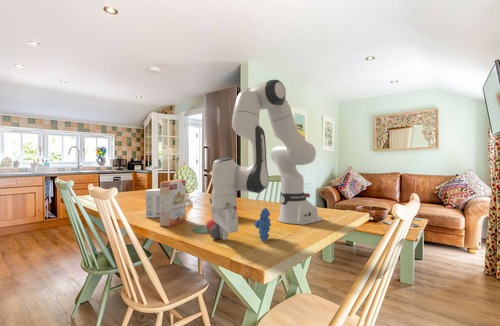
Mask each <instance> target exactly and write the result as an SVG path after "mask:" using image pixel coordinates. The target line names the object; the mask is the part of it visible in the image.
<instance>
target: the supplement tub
mask: <svg viewBox="0 0 500 326" xmlns="http://www.w3.org/2000/svg"><path fill="white" fill-rule="evenodd" d="M145 215H146V218H148V217H149V218H148V219H156V218H157V217H158V218H160V188H150V189H146V190H145ZM158 218H157V219H158Z"/></svg>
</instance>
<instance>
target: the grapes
mask: <svg viewBox="0 0 500 326" xmlns="http://www.w3.org/2000/svg"><path fill="white" fill-rule="evenodd" d="M270 215H271V213H270V211H269V209H268V208H267V207H264V208H263V209H262V210H261V212H260V215H259V219H256V221H254V223H253V225H254V226H255V229H258V230H259V231H258V234H259V238H260V240H261V242H266V241H267V239H268V238H269V237H270V234H269V231H270V230H271V226H272V224H271V219H270Z"/></svg>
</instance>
